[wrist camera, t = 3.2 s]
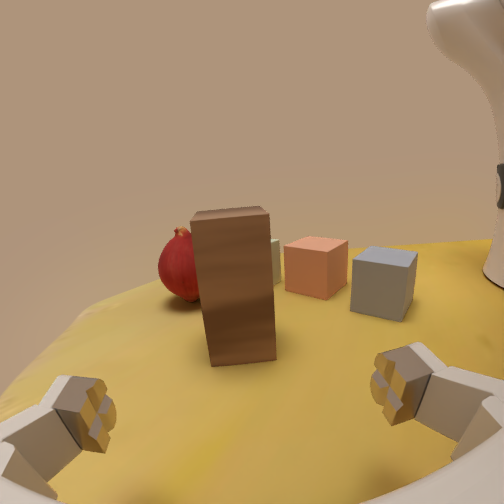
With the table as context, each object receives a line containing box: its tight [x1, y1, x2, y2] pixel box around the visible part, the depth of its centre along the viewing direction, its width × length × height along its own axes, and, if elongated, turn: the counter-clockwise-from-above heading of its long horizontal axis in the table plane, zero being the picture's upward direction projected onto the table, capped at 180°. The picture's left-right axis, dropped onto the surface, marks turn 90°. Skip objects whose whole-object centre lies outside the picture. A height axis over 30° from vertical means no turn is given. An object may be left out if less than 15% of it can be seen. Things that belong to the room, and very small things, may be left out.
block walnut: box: [190, 206, 276, 367], centre depth 20 cm, size 4×4×10 cm
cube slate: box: [350, 246, 418, 322], centre depth 24 cm, size 5×5×5 cm
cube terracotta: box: [284, 236, 348, 300], centre depth 30 cm, size 5×5×5 cm
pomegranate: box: [158, 226, 200, 302], centre depth 29 cm, size 6×6×8 cm
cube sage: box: [271, 239, 281, 285], centre depth 33 cm, size 5×5×5 cm
